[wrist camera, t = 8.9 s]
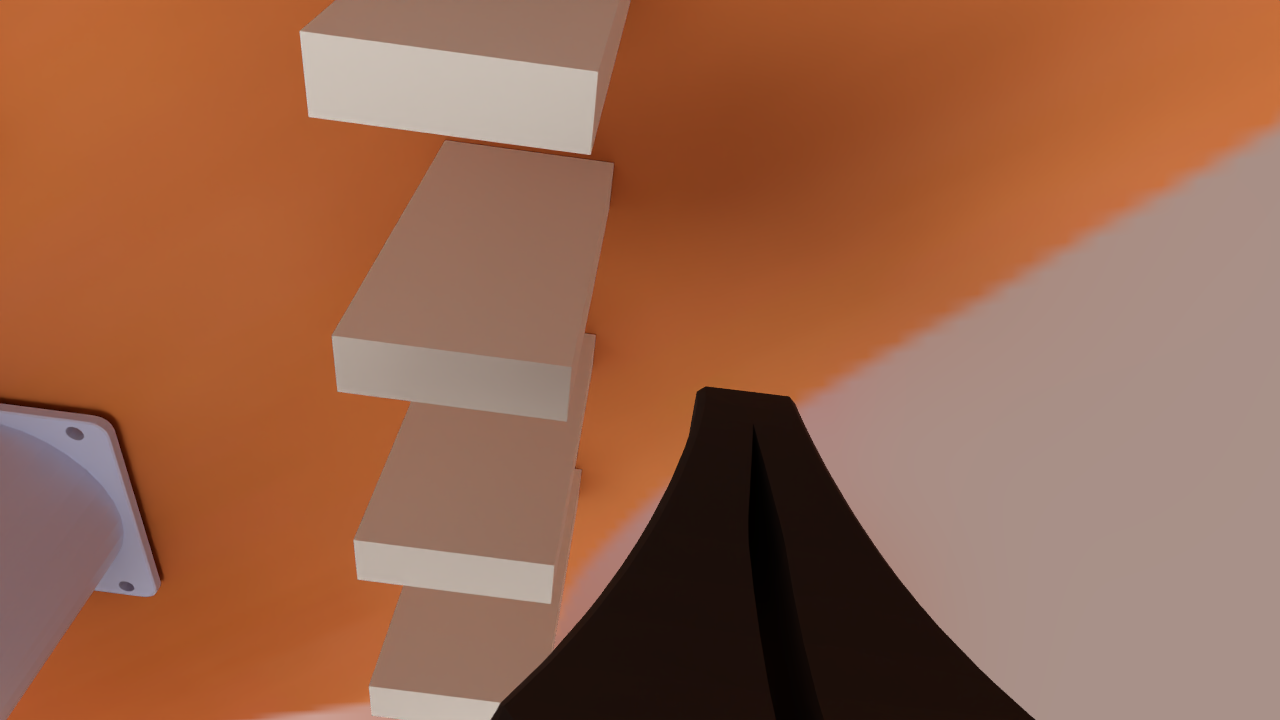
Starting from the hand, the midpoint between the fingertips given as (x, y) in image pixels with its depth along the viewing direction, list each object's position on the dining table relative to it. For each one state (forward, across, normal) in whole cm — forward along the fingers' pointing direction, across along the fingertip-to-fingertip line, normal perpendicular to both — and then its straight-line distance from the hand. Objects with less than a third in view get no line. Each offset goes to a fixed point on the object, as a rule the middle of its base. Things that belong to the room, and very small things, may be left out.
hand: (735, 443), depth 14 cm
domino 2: (+10, +5, +1) cm, 11 cm away
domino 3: (+10, +5, +6) cm, 12 cm away
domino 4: (+10, +5, +11) cm, 16 cm away
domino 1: (+10, +5, -4) cm, 12 cm away
